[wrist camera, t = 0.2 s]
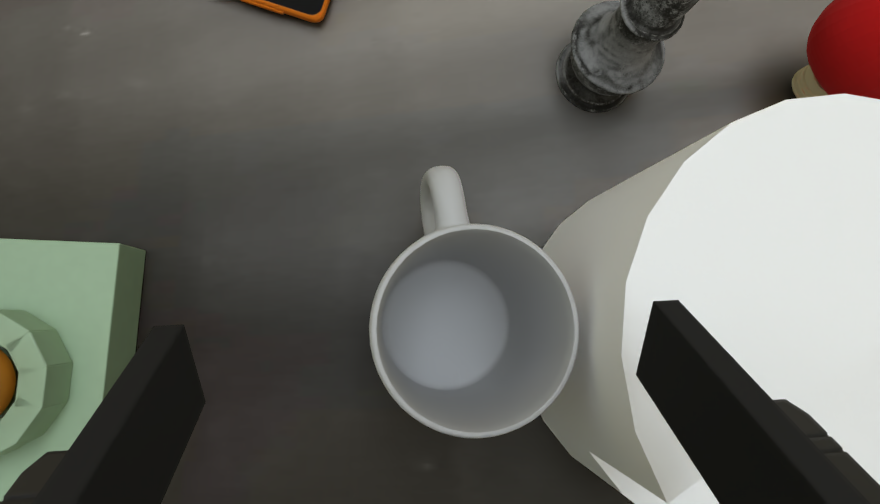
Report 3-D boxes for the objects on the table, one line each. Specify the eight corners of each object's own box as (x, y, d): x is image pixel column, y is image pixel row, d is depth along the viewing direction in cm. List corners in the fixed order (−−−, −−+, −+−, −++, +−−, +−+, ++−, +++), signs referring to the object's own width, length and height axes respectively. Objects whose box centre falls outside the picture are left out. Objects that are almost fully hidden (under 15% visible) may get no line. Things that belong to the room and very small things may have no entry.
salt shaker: (542, 101, 33) (633, -18, 21) (562, 22, 34) (659, -136, 22) (626, 127, 33) (760, 25, 22) (643, 48, 34) (781, -93, 22)
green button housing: (120, 507, 27) (62, 549, 22) (-86, 510, 26) (-194, 555, 21) (146, 250, 29) (98, 237, 24) (-45, 242, 28) (-137, 227, 23)
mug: (523, 382, 30) (601, 419, 20) (383, 407, 29) (384, 462, 19) (490, 190, 32) (546, 126, 21) (354, 207, 31) (340, 149, 20)
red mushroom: (737, 132, 34) (882, 59, 24) (737, 36, 35) (876, -71, 25) (860, 146, 35) (1047, 82, 25) (857, 53, 36) (1035, -44, 26)
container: (631, 567, 30) (827, 767, 17) (458, 278, 31) (515, 252, 18) (871, 385, 33) (1193, 432, 20) (708, 128, 34) (913, 12, 21)
